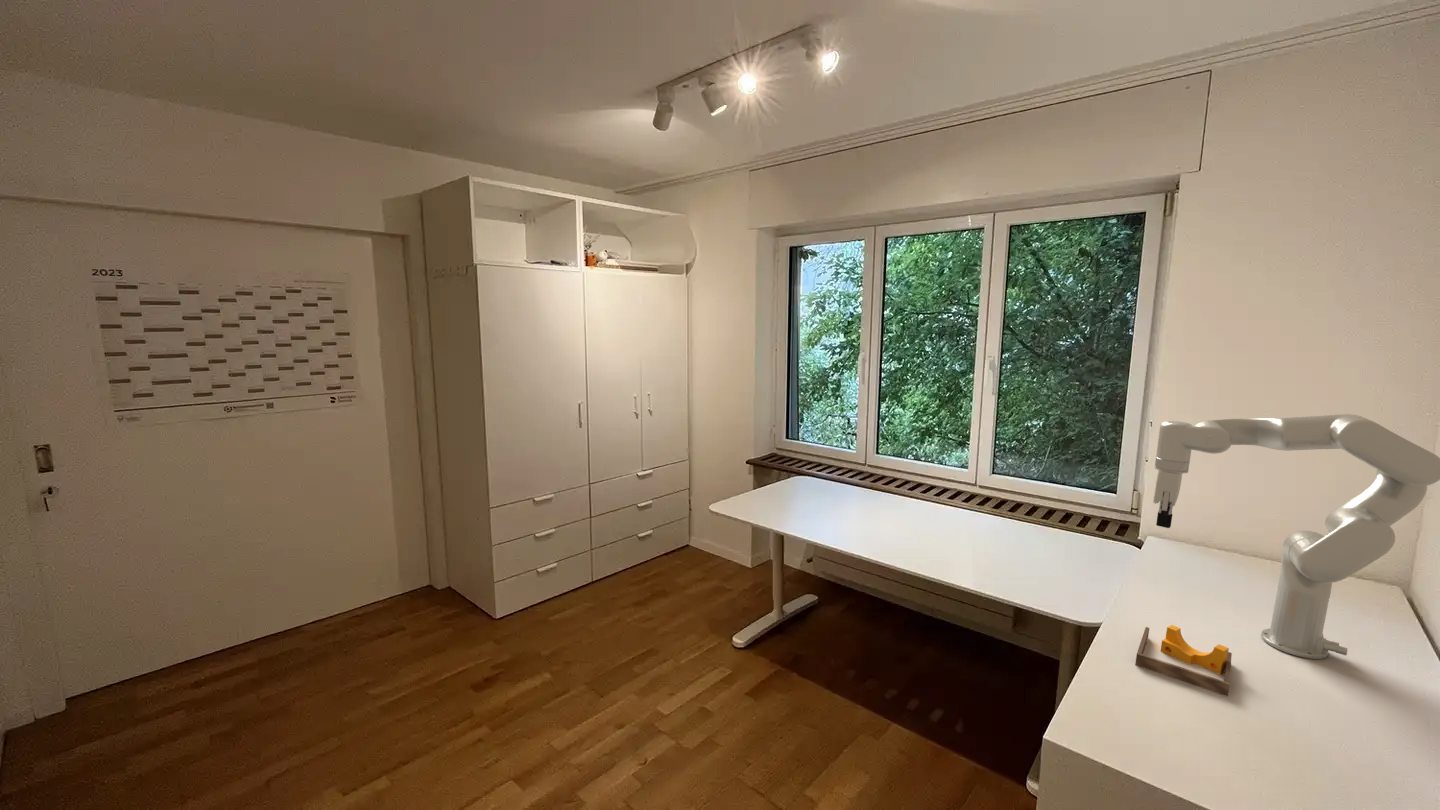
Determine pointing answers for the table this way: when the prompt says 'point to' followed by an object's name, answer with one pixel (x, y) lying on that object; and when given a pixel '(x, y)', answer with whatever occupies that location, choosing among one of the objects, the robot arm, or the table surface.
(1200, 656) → the pipe clamp
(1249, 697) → the table surface
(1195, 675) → the walnut bay
